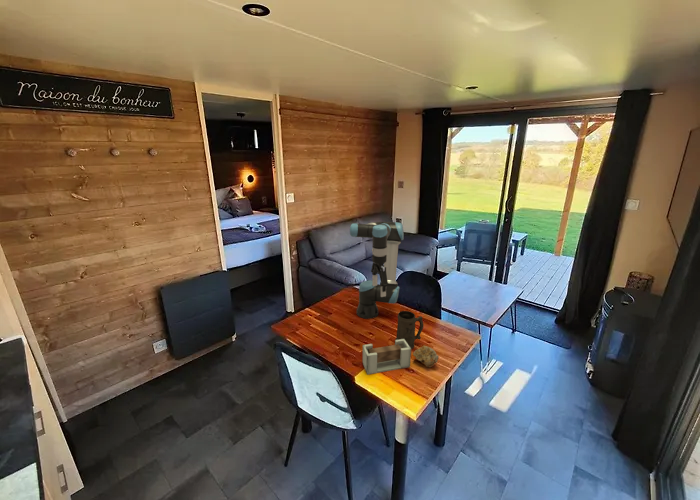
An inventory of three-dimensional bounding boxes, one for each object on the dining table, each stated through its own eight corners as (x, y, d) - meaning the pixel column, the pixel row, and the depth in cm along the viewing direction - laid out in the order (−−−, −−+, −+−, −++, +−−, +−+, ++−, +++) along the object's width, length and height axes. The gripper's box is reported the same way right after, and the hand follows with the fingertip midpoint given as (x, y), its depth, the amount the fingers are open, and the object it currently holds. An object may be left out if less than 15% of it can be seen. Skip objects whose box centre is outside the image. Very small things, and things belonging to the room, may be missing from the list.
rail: (370, 363, 151) (370, 353, 149) (368, 359, 154) (368, 349, 153) (403, 358, 155) (404, 348, 153) (400, 353, 158) (401, 343, 157)
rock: (433, 357, 162) (434, 341, 159) (439, 370, 152) (440, 353, 149) (411, 357, 161) (412, 341, 158) (415, 370, 151) (416, 354, 148)
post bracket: (362, 363, 158) (362, 345, 154) (403, 356, 163) (404, 338, 159) (367, 374, 149) (367, 355, 146) (410, 367, 154) (411, 348, 151)
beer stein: (399, 352, 166) (402, 320, 160) (391, 341, 176) (394, 310, 170) (423, 349, 170) (428, 317, 164) (414, 338, 180) (419, 308, 174)
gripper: (365, 248, 168) (365, 282, 175) (380, 263, 145) (380, 302, 152) (378, 246, 170) (377, 280, 177) (395, 262, 147) (393, 300, 154)
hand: (378, 290), depth 164 cm, fingers open, 13 cm apart
